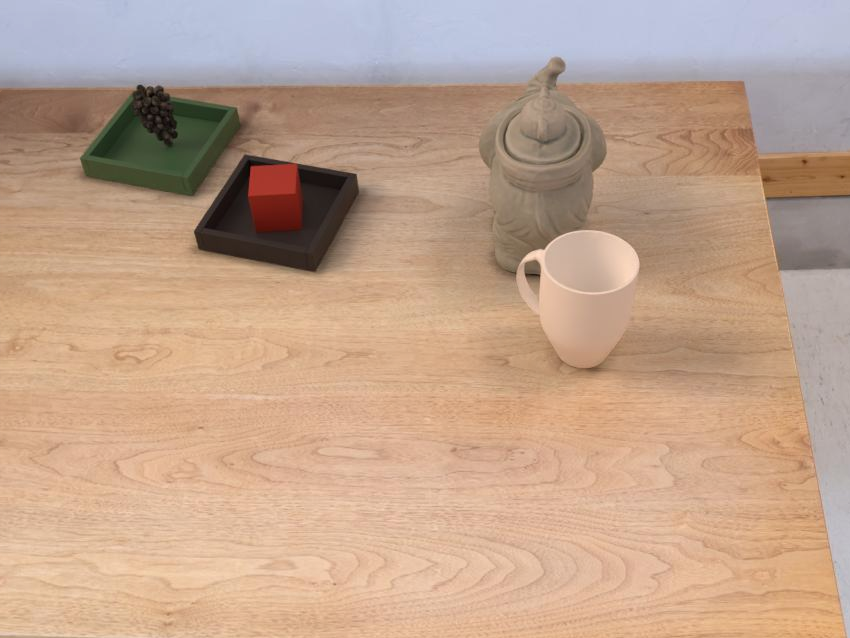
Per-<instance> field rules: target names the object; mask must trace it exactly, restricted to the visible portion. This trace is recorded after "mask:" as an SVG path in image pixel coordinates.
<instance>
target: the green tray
mask: <svg viewBox="0 0 850 638" xmlns="http://www.w3.org/2000/svg"><path fill="white" fill-rule="evenodd" d="M135 91H136V90H133V91H132V92H131V93H130V94H129V96H128V97H127V98H126V100H125V101H123V103H122V104H121V106H120V107H119V108H118V110H117V111H116V112H115V113H114V114H113V116H112V117H111V118H110V119H109V121H108V122H107V123H106V125H105V126H104V127H103V129H102V130H101V131H100V132H99V134H97V135H96V137H95V138H94V139H93V140H92V142H91V143H90V145H88V147H87V148H86V150H85V151H84V152H83V153H82V154H81V156H80V157H79V161H80V164H81V166H82V169H83V172H84V174H85V177H87V178H93V179H99V180H103V181H108V182H113V183H120V184H125V185H130V186H134V187H135V186H136V187H141V188H146V189H151V190H158V191H164V192H168V193H173V194H179V195H185V196H190V197H193V196H195V194H196V192H197V191H198V189H200V187H201V185H202V183H203V182H204V180H205V179H206V178H207V176H208V174H209V173H210V172H211V170H212V169H213V167H214V166H215V164H216V163H217V162H218V160H219V159H220V157H221V156H222V154H223V152H224V151H225V150H226V148H227V147H228V145H229V144H230V142H232V139H233V138H234V137H235V135H236V134H237V132H238V130H239V129H240V128H241V125H242V124H241V121H240V116H239V111H238V107H235V106H230V105H225V104H218V103H212V102H206V101H201V100H195V99H188V98H184V97H183V98H182V97H176V96H171V95H170V100H169V102H172V103H173V105H174V108H173V109H174V112H173V116H174V119H175V120H176V121H177V126H176V129H175V131H177V133H178V136H177V138H176V139H173V142H172V145H171V146H166V145H164V140H163V141H160V140H158V139H157V137H156V136H155V134H154V133H149V132H148V131H147V128H144V127H143V125H142V123H141V122H140V118H141V116H139V117H137V116H135V115H134V113H133V112H134V109H133V107H132V106H131V102H132V101H133V100H135V99H134V98H133V96H132V95H133V93H134V92H135Z"/></svg>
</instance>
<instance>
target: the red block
mask: <svg viewBox="0 0 850 638" xmlns="http://www.w3.org/2000/svg"><path fill="white" fill-rule="evenodd" d="M248 197H249V202H250V207H251V212H252V216H253V221H254V226H255V231H256V232H268V231H286V230H301V229H302V210H303V198H302V191H301V185H300V179H299V173H298V167H297V164H284V165H265V166H251V170H250V181H249V193H248Z"/></svg>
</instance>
